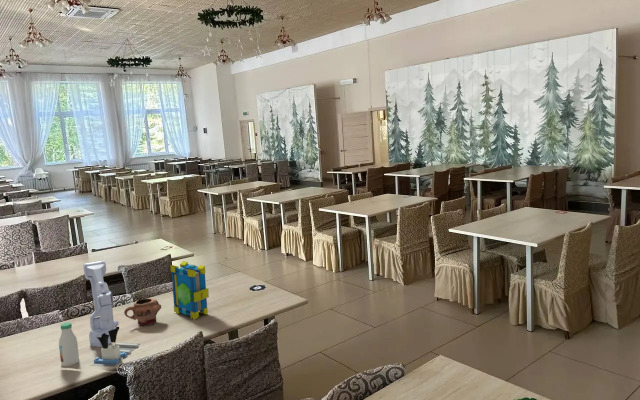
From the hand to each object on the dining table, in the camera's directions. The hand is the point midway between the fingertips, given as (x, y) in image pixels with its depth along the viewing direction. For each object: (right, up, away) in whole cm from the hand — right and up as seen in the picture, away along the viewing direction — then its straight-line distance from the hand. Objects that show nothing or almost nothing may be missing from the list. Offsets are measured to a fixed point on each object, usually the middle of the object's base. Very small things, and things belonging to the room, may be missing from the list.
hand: (109, 345), depth 230 cm
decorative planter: (+1, -2, +44) cm, 44 cm away
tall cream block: (0, -7, +1) cm, 7 cm away
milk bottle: (-18, -9, -1) cm, 20 cm away
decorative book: (+23, +1, +58) cm, 63 cm away
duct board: (+1, -7, +6) cm, 9 cm away
